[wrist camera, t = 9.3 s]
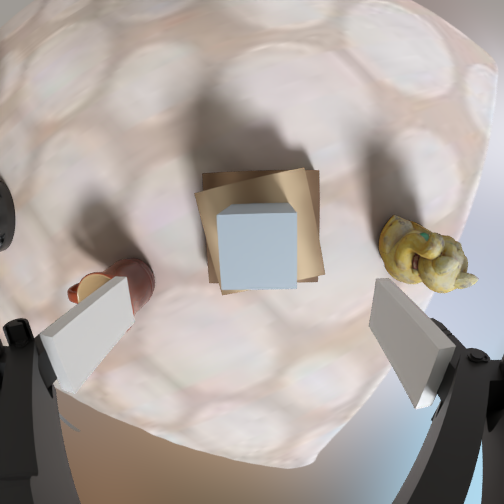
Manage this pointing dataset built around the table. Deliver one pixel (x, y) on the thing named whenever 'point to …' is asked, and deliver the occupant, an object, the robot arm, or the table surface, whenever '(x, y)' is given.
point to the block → (258, 246)
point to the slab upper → (266, 191)
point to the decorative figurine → (423, 256)
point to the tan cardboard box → (232, 177)
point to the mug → (132, 268)
